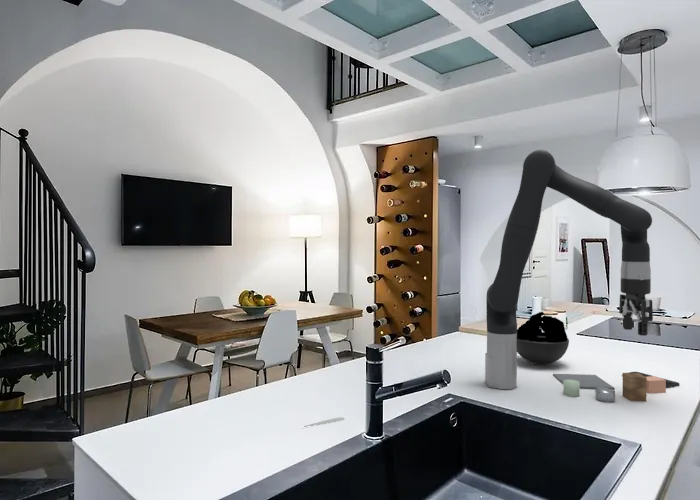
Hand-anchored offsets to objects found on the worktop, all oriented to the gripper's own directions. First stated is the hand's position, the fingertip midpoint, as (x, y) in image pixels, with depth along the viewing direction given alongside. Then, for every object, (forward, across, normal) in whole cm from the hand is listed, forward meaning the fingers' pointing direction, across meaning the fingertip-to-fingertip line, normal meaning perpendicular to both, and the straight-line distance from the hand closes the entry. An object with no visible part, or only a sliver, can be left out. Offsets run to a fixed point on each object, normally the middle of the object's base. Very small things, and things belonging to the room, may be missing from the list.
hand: (634, 332), depth 136 cm
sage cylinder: (+20, -2, -17) cm, 26 cm away
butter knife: (+20, +32, -94) cm, 101 cm away
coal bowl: (+20, -37, -16) cm, 45 cm away
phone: (+20, -19, +14) cm, 31 cm away
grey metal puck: (+20, +2, -9) cm, 22 cm away
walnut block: (+20, 0, 0) cm, 20 cm away
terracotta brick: (+20, -8, +9) cm, 23 cm away
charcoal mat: (+20, -15, -9) cm, 26 cm away
